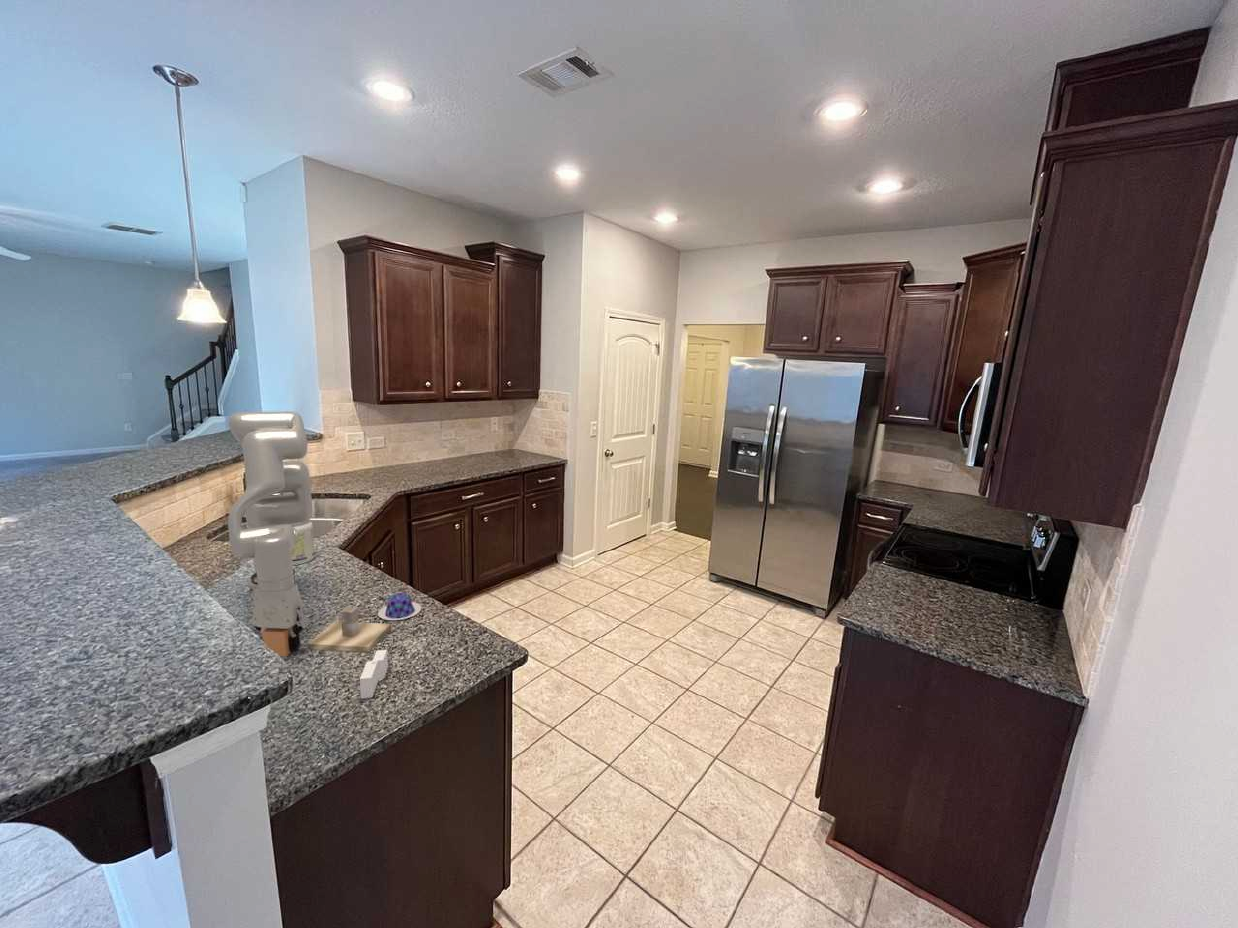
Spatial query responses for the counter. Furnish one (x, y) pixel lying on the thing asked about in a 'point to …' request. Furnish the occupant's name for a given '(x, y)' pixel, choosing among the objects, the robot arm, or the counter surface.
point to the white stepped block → (373, 673)
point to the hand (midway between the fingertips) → (282, 647)
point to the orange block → (277, 640)
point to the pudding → (399, 607)
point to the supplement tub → (303, 543)
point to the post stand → (350, 634)
